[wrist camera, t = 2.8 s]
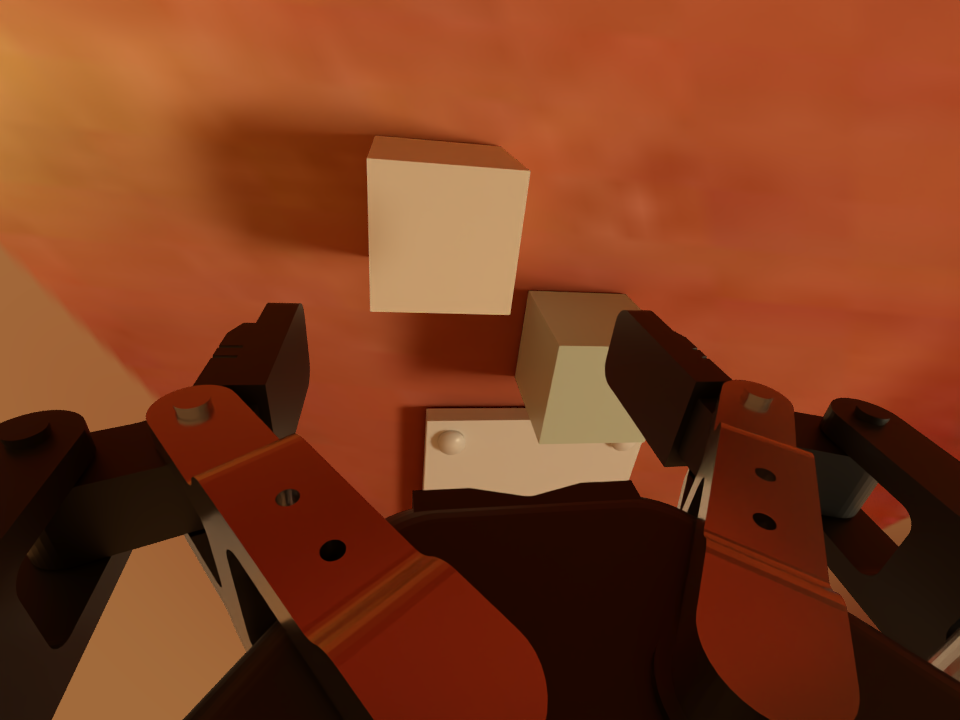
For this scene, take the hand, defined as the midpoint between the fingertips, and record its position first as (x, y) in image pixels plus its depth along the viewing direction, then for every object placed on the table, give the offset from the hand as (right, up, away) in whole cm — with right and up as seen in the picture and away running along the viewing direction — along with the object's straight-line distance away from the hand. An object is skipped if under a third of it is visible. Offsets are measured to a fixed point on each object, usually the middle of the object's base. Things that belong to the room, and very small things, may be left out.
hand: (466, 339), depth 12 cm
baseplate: (+3, -9, +21) cm, 24 cm away
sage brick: (+5, +1, +15) cm, 16 cm away
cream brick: (-2, +7, +10) cm, 13 cm away
